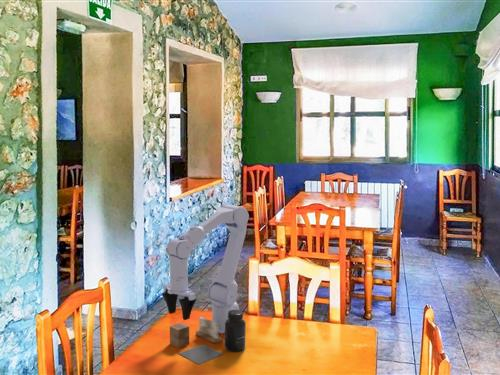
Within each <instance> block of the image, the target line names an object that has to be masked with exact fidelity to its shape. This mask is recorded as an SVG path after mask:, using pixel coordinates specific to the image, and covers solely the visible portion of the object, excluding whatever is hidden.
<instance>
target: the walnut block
mask: <svg viewBox="0 0 500 375" xmlns="http://www.w3.org/2000/svg"><path fill="white" fill-rule="evenodd" d="M169 344H170V345H171V346H173V347H176V348H177V349H178V348H181V347H184V346H187V345H190V325H187V324H185V323H183V322H179V323H176V324H172V325H170V326H169Z"/></svg>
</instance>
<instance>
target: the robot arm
mask: <svg viewBox="0 0 500 375" xmlns="http://www.w3.org/2000/svg"><path fill="white" fill-rule="evenodd" d="M249 218H250V215H249V212H248V210H247V208H246V207H244V206H239V205H232V204H227V203H223V204H221V205H220V206H218V207H217V208H216V210H215V212H214V213H213V214H211V216H209V217H208V218H207V219H206V220H204V222H202V223H201V224H200V225H199V226H198V225H191V226H190V227H189V229H188V230H187V231H185V232H184V233H183V234H180V235H179V236H178V237H177V238H176V237H175V238H172V239H171V240H170V241H169V242H168V243H167V245H166V247H165V253H166V254H167V255H168V260H169V279H170V280H169V283H165V284H163V291H164V292H162V294H161V295H162V298H163V299H164V301H165V303H166V306H167V310H168V313H169V314H170V315H171V314H174V313H176V311H177V303H178V302H177V300H178V301H179V304H180V307H181V311H182V319H183V321H186V320H190V319H191V314H192V313H191V312H192V310H193V307H194V305H195V304H196V302H197V297H196V293H195V292H193V291H192V290H191V289H190V287H188V286H189V281H188V279H189V278H188V276H189V272H188V269H189V268H188V266H189V265H188V264H189V261H188V260H189V258H188V257H190V256H191V254H192V251H193V250H194V248H196V247H197V246H198V245H199V244H200V243H202V242H203V241H205V239H206V234H208V233H210V232H212V230H214V229H216V228H217V227H218V226H220V225H222V224H224V225H225V226H226V227H227V228H228V231H229V233H230V234H229V235H228V240H227V244H226V247H225V250H224V251H225V252H224V255H223V259H222V263H221V265H220V266H221V267H220V270H219V274H218V275H217V276H216V277H214V278H213V279H212V283H211V284H210V285H209V287H208V290H207V297H208V299H210V303H211V304H212V307H211V309H212V314H211V315H212V316H211V317H212V319H211V321H212V322H215V323H217V324H218V334H221V335H222V334H225V321H226V320H227V319H228V312H229V311H230V310H240V306H239V304H238V302H237V300H238V290H239V289H238V287H239V285H238V283H237V282H236V280H235V276H236V273H237V268H238V264H239V262H240V261H239V260H240V258H241V254H242V249H243V245H244V242H245V238H246V234H247V230H248V228H247V225H248V221H249ZM178 296H181V297H182V298H180V299H178Z"/></svg>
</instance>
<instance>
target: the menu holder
mask: <svg viewBox="0 0 500 375" xmlns="http://www.w3.org/2000/svg"><path fill="white" fill-rule="evenodd" d="M198 320H199V321H198V322H199V323H198V330H196V331H195V335H196V336H198V337H199V338H202V339H205V340H207V341H209V342H211V343H213V344H217V343H219V342H222V341H223V338H222V336H220V335H219V332H218V324H217V323H215V322H212V320H210V319H207V318H205V317H203V316H200V317H198Z"/></svg>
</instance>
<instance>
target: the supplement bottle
mask: <svg viewBox="0 0 500 375" xmlns="http://www.w3.org/2000/svg"><path fill="white" fill-rule="evenodd" d="M246 324H247V323H246V321H245V319H244V313H243V310H240V309H239V310H230V311H229V312H228V319H227V320H226V321H225V333H224V344H223V345H224V348H225V349H226V350H227V351H229V352H235V353H236V352H242V351H243V350H245V349H246V330H247V327H246V326H247V325H246Z"/></svg>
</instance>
